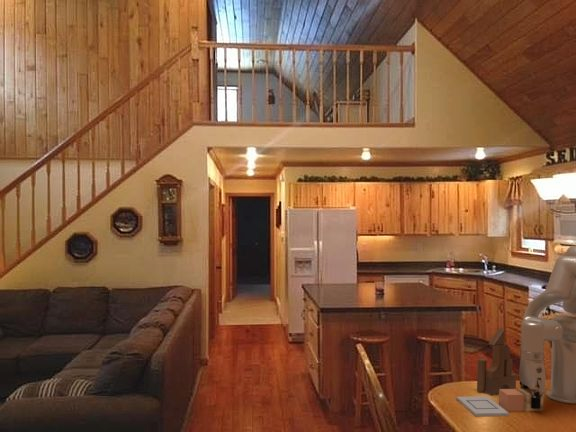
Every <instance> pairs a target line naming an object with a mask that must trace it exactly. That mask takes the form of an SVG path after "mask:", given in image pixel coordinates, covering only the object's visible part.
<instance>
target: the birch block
mask: <svg viewBox="0 0 576 432" xmlns="http://www.w3.org/2000/svg"><path fill="white" fill-rule="evenodd" d="M518 391H519V392H520V393H522V394H523V395H524V402H523V410H525V411H526V412H544V394H545V393H544V394H543V395H542V398H541V403H540V409H532V408H531V397H533V396H532V390H531V388H529V389H520V388H518ZM536 392H538V391H537V390H535V393H536Z"/></svg>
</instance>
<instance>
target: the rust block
mask: <svg viewBox="0 0 576 432" xmlns="http://www.w3.org/2000/svg"><path fill="white" fill-rule="evenodd" d="M523 402H524V395H523V394H522V393H520V392H519V390H517V389H502V388H500V389H499V392H498V405H499V406H500V407H502V408H503V409H504V410H506V411H507V412H524V409H523Z"/></svg>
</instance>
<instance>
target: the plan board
mask: <svg viewBox="0 0 576 432" xmlns="http://www.w3.org/2000/svg"><path fill="white" fill-rule="evenodd" d="M456 401H457V402H459V403H460V404H461V405H462V406H463V407H464V408H465V409H467V410H468V411H469V412H470V413H471V414H472V415H474V416H475V417H509V416H510V413H509V411H506V410H505V409H503V408H502V407H501V406H499V403H497V402H496V401H494V400H493V399H492V398H490V397H488V396H486V395H485V396H483V395H481V396H456Z"/></svg>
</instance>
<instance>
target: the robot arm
mask: <svg viewBox="0 0 576 432" xmlns="http://www.w3.org/2000/svg"><path fill="white" fill-rule="evenodd" d="M559 303H562V309H563V311H564V312H566V313H568V314H571V315H566V314H559V315H555V316H554V317H552V318H551V319H548V318H543V317H539V316H540V314H541V312H542V311H543V310H544V309H546V308H547V307H549V306H552V305H555V304H559ZM524 311H525V312H524V314H523V316H522V321H521V329H520V330H521V331H520V356H519V357H520V361H519V370H518V377H517V378H518V381H519V385H520V388H519V389H531V390H532V396H533V397H531V408H532V409H540V403H541V398H542V395H543V394H546V396H547V398H549V399H551V400H552V401H553V400H554V401H556V402H560V403H564V404H572V405H573V404H576V245H572V246H569V247H567V249H566V252H565V255H561V256H559V257H557V259H556V260H555V263H554V266H553V268H552V271H551V274H550V276H549V280H548V281H547V285H546V288H545V290H544V291H543V292H541V293H540V294H538V295H537V296H535V297H534V299H532V300H531V301H530V302H529V304H528V305H527V306H526V309H525V310H524ZM572 315H574V316H572ZM544 342H551V371H550V372H551V377H550V378H551V379H550V389H548V390H547V391H546V390H545V389H546V368H545V362H544V349H545V348H544V346H545V344H544ZM535 390H537V391H538V392H536V393H535ZM543 396H544V395H543Z"/></svg>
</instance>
